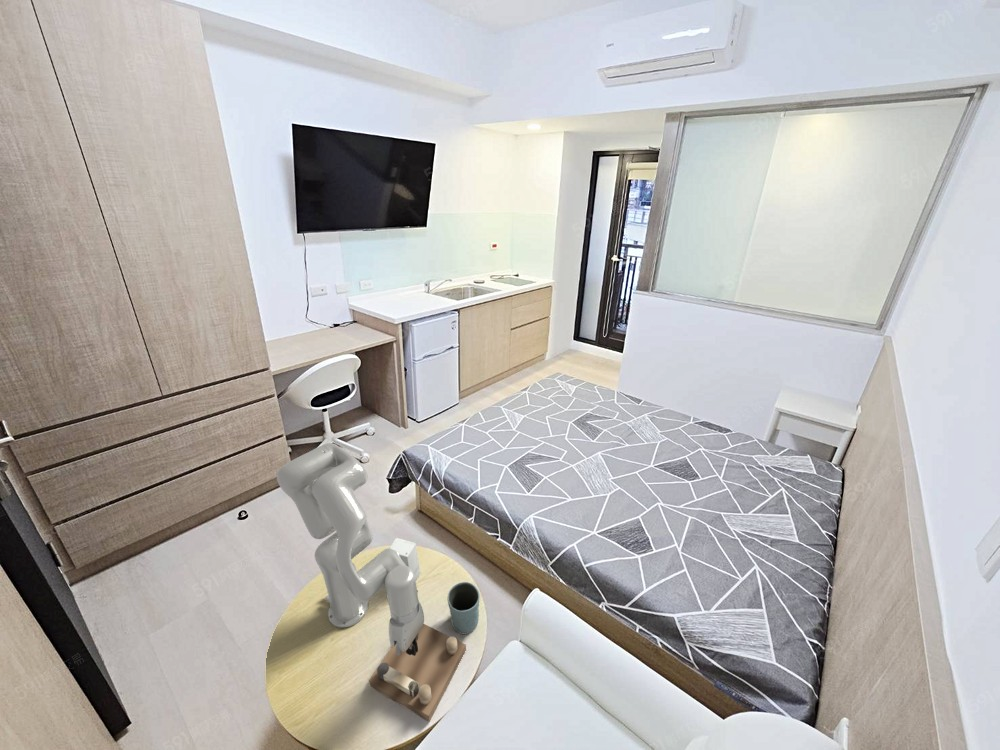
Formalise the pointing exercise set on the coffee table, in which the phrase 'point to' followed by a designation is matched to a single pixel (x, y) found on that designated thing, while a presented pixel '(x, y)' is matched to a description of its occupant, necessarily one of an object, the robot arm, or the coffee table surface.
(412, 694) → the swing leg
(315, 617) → the coffee table surface
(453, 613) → the teal cup
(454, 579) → the coffee table surface
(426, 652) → the stool seat
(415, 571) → the skincare box
